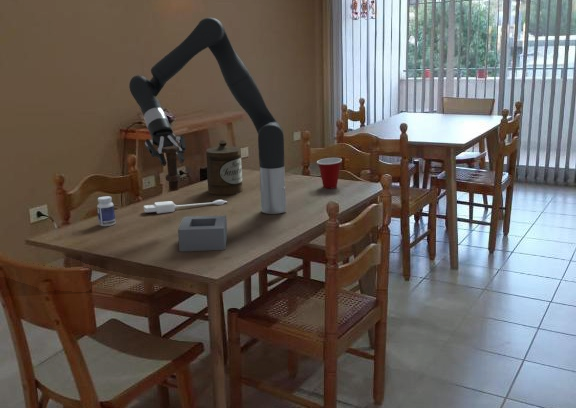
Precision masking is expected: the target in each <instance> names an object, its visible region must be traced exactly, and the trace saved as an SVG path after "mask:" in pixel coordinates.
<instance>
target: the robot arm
mask: <svg viewBox="0 0 576 408" xmlns="http://www.w3.org/2000/svg"><path fill="white" fill-rule="evenodd" d="M207 48H208V49H209V51H210V52H211V53H212V55H213V57H214V58H215V60H216V61H217V62H216V63H217V65H218V66H219V69H220V73H221V74H222V77H223V79H224V82H225V84H226V85H227V87H228V89H229V91H230V92H231V95H232V96H233V97H234V99H235V101H236V102H237V103H238V104H239V106H240V107H241V108H242V109H243V110H244V111H245V113H246V115H248V117H249V119H250V120H251V122H252V123H253V126H254V128H255V130H256V132H257V143H258V144H257V147H258V161H259V162H258V164H259V182H260V183H259V184H260V185H259V186H260V187H259V188H260V190H259V191H260V208H261V209H260V210H261V213H264V214H267V215H277V214H281V213H286V212H287V204H286V203H287V202H286V201H287V200H286V179H285V178H286V175H285V138H284V130H283V128H282V126H281V125H280V124H279V123H278V121H277V120H276V118H275V117H274V116H273V114H272V113H271V111H270V110H269V108H268V107H267V105H266V102H265V100H264V97H263V96H262V93H261V91H260V89H259V87H258V85H257V83H256V82H255V80H254V78H253V76H252V74H251V73H250V72H249V69H248V68H247V66H246V65H245V64H244V62H243V61H242V59H241V58H240V57H239V55H238V54H237V51H235V49H234V47H233V45H232V43H231V40H230V39H229V37H228V34H227V32H226V30H225V27H224V24H222V22H221V21H220V20H219V19H217V18H215V17H205V18H203V19H201V20H199V22H198V24H197V25H196V26H195V28H194V29H192V31H191V32H190V34H189V35H188V36H187V37H186V38H185V39H184V40H183V41H182V42H181V43H180V44H179V45H178V46H176V47H175V48H173V49H172V50H171V51H170V52H168V53H167V54H166V55H165V56H164V57H163V58H161V59H160V60H159V61H157V62H156V63H155V64H154V65H153V66H152V67H151V69H150V72H151V73H150V74H151V75H152V77H151V79H150V80H149V79H148V78H146V77H145V76H143V75H139V74H138V75H134V76H133V77H131V79H130V81H129V86H128V88H129V91H130V94H131V96H132V97H133V99H134V100H135V102H136V103H137V105H138V106H139V108H140V110H141V113H142V116H143V118H144V122H145V126H146V128H147V131H148V133H149V135H150V137H151V139H148V138H147V139H145V142H144V146H145V148H146V149H147V151H148V153H149V154H150V156H151V157H152V158H155V157H157V159H158V160H159V163H160V165H161V166H163V167H166V166H167V159H166V157H165V155H164V153H163V152H162V148H163V147H166V146H178V147H179V151H178V152H176V157H177V158H178V161H179V164H184V161H185V160H186V158H185V156H184V153H185V152H186V149H187V146H186V141H185V136H184V135H183V134H181V135H179V136H178V135H177V136H176V135H175V134H174V132H173V129H172V126H171V124H170V122H169V119H168V117H167V114H166V113H165V111H164V109H163V107H162V105H161V103H160V102H161V101H160V100H159V99H158V98H157V96H158V95H159V93H160V92H162V89H163V88H164V86H165V85H166V83H167V82H168V81H170V80H171V79H172V78H173V77H174V76H176V74H178V73H179V72H180V71H181V70H182V69H183V68H184V67H185V66H186V65H187V64H188V63H189V62H191V60H192V59H193V58H194V57H196V56H197V55H198V54H199V53H201V52H202V51H204V50H205V49H207ZM154 145H155V146H156V147H157V150H156V149H155V147H154Z"/></svg>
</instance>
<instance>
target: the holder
mask: <svg viewBox="0 0 576 408" xmlns="http://www.w3.org/2000/svg"><path fill="white" fill-rule="evenodd" d="M227 226H228V225H227V215H226V214H224V215H222V214H221V215H202V216H201V215H198V216H197V215H196V216H183V217H182V220H181V222H180V224H179V226H178V229H177V233H178V234H177V235H178V249H179V252H197V251H198V252H200V251H201V252H202V251H203V252H204V251H223V250H226V245H227V239H228V227H227Z"/></svg>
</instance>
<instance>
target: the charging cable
mask: <svg viewBox="0 0 576 408" xmlns="http://www.w3.org/2000/svg"><path fill="white" fill-rule="evenodd" d="M226 203H228V201H227V200H223V199H215V200H213V201H212V202H201V203H188V204H178V205H177V204H175V203H174V201H172V200H170V201H169V200H167V201H156V202H154V204H147V205H143V211H144V212H145V213H156V214H157V215H158V214H166V213H172V212H176V211H175V210H176V209H177V208H181V207H191V206H205V205H217V206H220V205H221V206H222V205H224V204H226Z"/></svg>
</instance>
